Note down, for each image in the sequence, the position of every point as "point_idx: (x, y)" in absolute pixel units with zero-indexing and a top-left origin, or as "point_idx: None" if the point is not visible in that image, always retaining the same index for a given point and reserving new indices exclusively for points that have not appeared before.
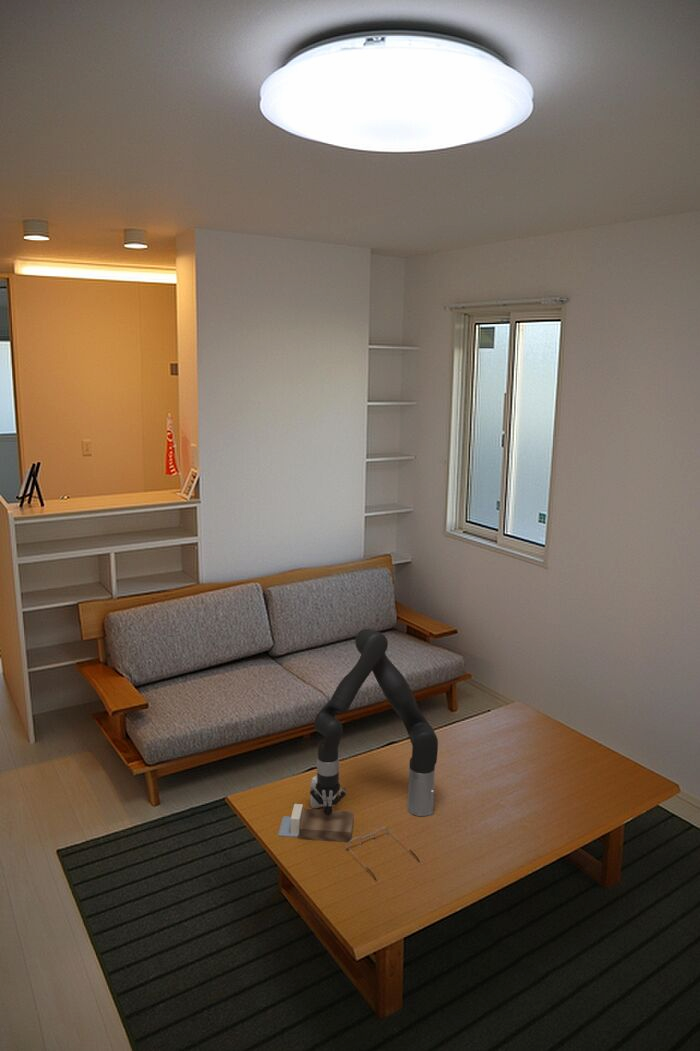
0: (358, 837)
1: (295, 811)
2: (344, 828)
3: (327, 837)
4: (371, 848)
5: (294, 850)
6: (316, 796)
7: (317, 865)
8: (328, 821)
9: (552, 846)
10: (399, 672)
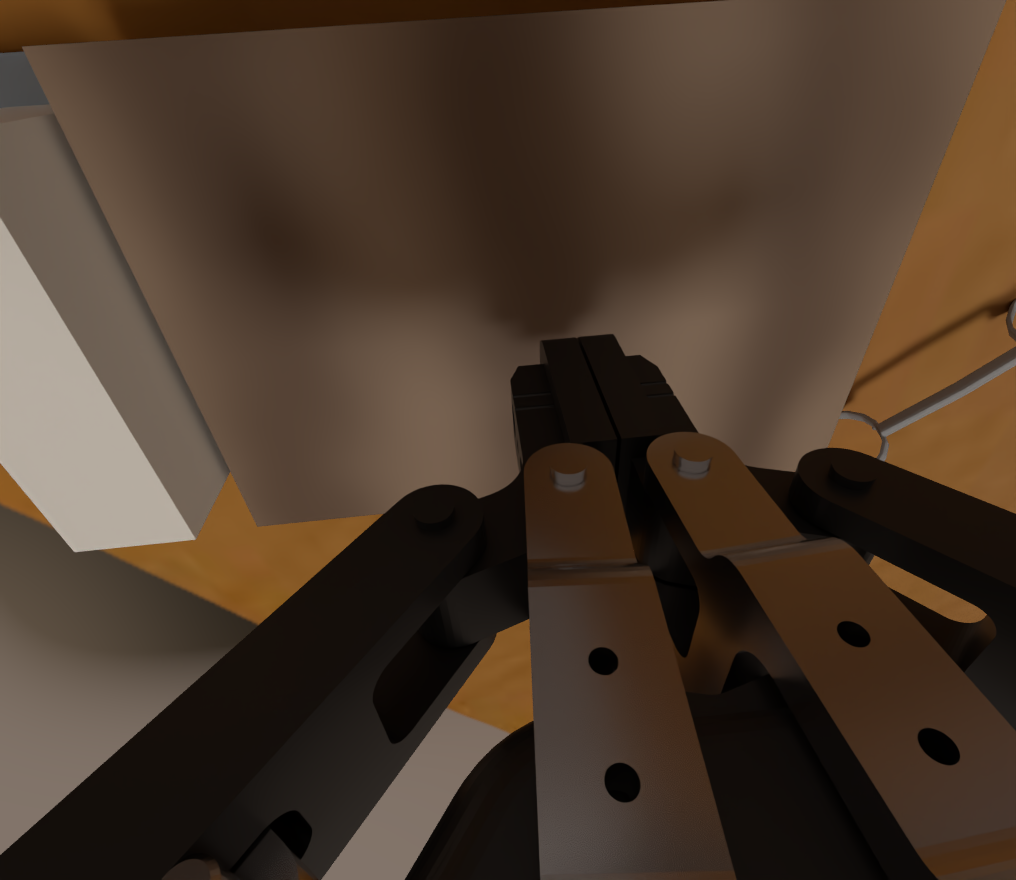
0: None
1: (5, 402)
2: (757, 429)
3: None
4: (913, 433)
5: (315, 557)
6: (348, 827)
7: (515, 625)
8: None
9: None
10: None
